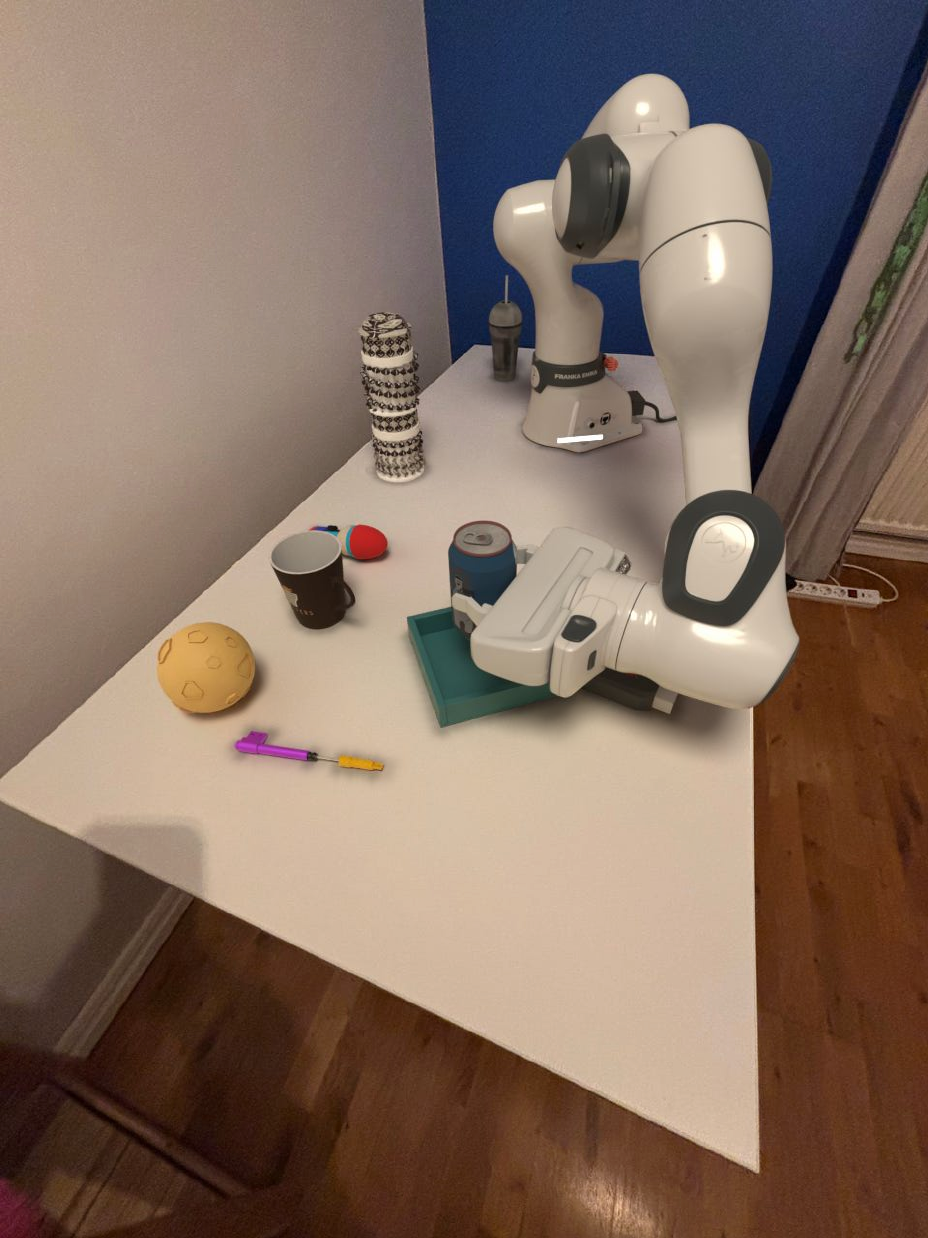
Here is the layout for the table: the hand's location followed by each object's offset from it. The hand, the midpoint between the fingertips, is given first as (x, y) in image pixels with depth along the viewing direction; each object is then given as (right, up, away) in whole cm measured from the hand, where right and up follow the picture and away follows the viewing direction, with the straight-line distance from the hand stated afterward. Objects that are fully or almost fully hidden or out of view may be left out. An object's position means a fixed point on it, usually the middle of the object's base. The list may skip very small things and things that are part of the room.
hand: (475, 574), depth 62 cm
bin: (+1, -10, +9) cm, 14 cm away
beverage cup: (+8, +49, +71) cm, 87 cm away
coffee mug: (-19, -5, +16) cm, 25 cm away
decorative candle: (-12, +21, +43) cm, 49 cm away
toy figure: (-19, +5, +26) cm, 33 cm away
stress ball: (-29, -14, +7) cm, 33 cm away
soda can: (+1, -5, +5) cm, 7 cm away
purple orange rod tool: (-17, -19, +1) cm, 25 cm away
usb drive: (+17, -12, +6) cm, 22 cm away
